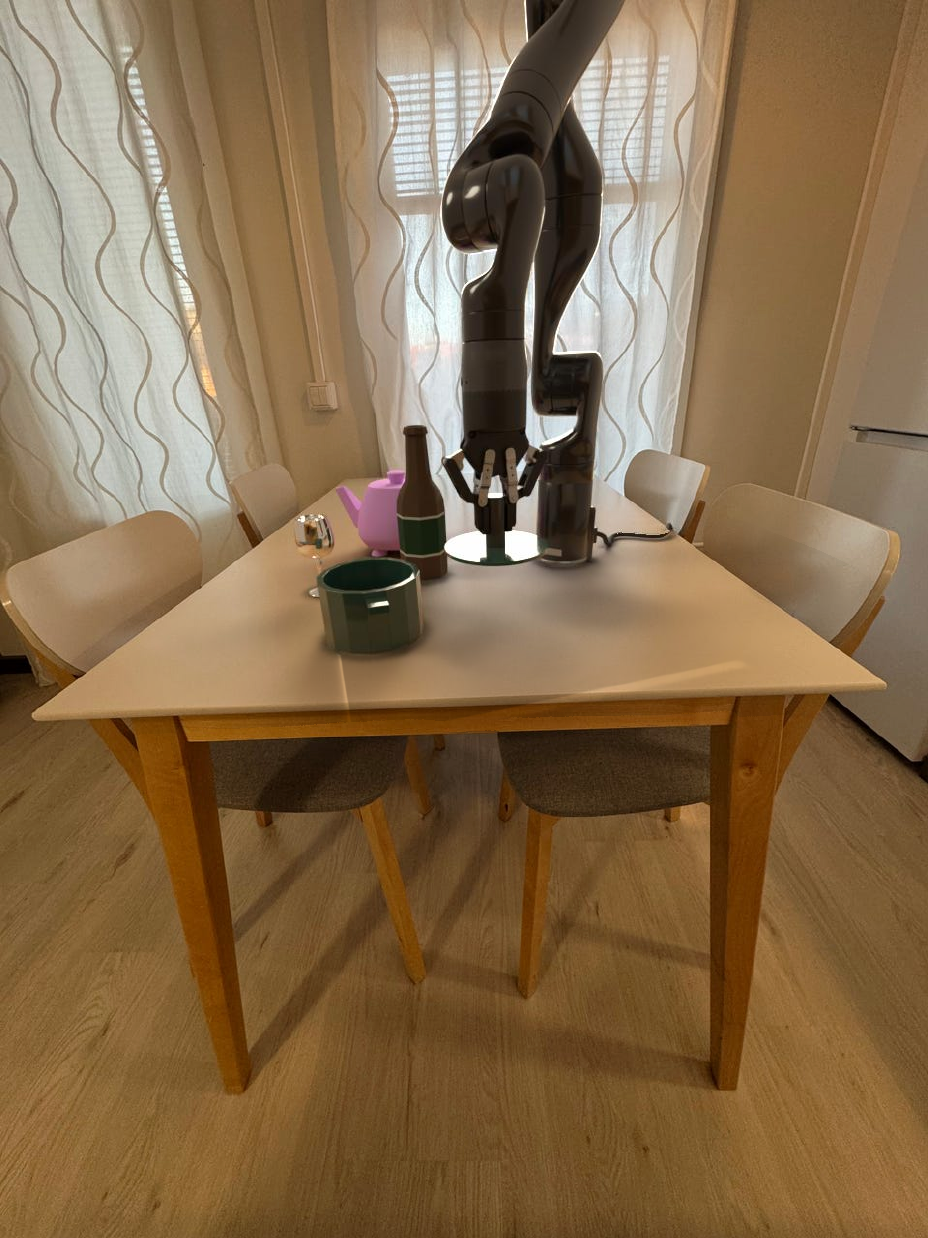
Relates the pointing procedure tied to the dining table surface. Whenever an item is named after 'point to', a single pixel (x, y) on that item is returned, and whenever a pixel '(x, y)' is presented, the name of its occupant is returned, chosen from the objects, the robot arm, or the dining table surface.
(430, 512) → the beer bottle
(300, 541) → the wineglass
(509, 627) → the dining table surface
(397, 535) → the teapot
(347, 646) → the pot
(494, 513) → the lid
